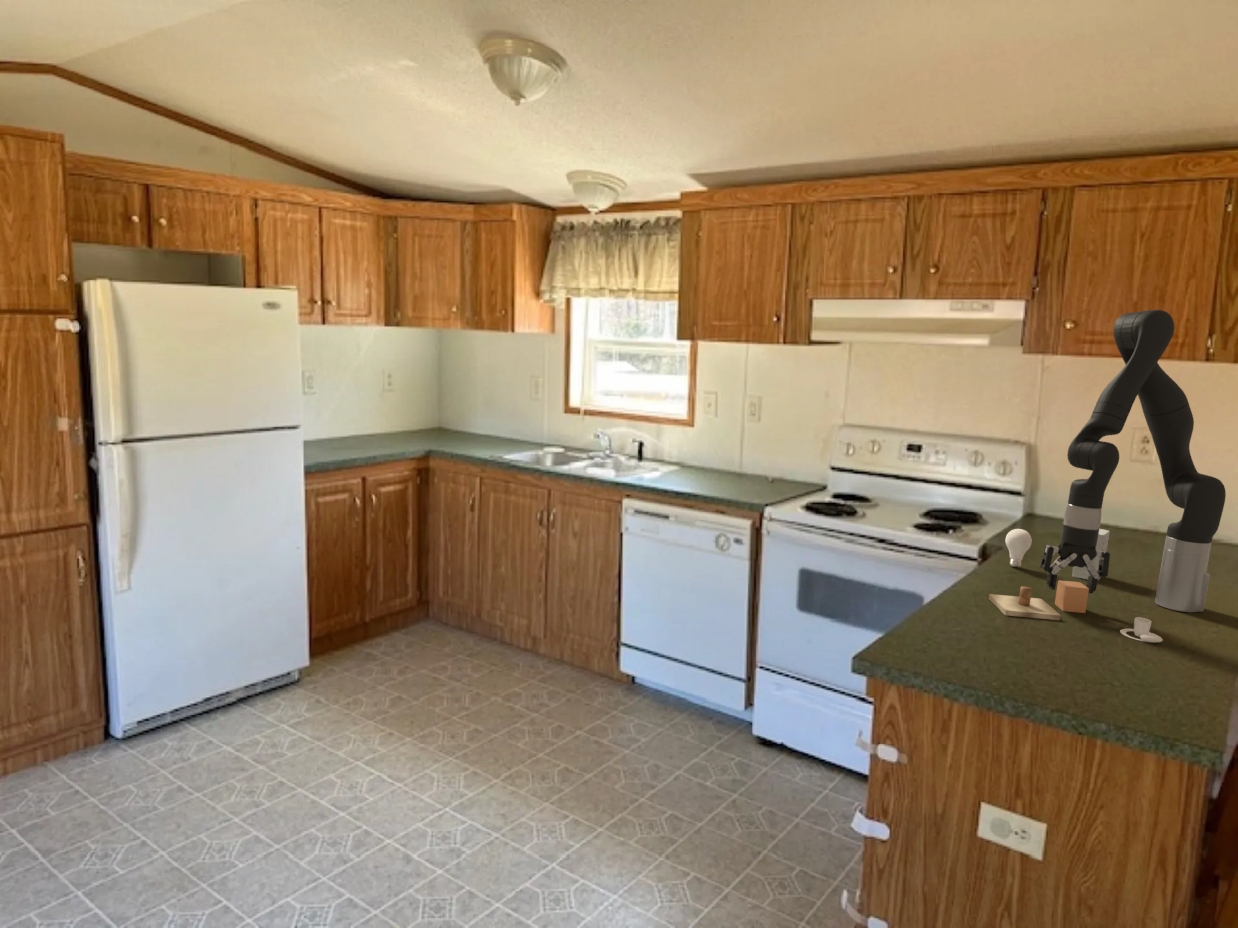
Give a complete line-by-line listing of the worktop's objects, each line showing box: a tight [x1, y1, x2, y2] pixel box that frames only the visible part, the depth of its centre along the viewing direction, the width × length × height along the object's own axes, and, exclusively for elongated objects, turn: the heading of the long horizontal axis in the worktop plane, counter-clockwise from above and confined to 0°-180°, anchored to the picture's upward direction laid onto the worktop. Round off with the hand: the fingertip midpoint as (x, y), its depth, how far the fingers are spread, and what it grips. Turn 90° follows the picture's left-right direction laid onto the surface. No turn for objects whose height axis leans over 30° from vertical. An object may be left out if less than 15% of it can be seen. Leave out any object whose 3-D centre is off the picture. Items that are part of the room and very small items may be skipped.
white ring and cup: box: [1119, 617, 1163, 644], centre depth 182 cm, size 9×8×4 cm
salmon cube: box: [1054, 579, 1090, 614], centre depth 199 cm, size 5×5×6 cm
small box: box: [1071, 528, 1111, 581], centre depth 228 cm, size 8×6×13 cm
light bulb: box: [1005, 528, 1033, 568], centre depth 233 cm, size 7×7×11 cm
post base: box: [988, 585, 1062, 621], centre depth 196 cm, size 12×12×5 cm
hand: (1070, 590), depth 199 cm, fingers open, 8 cm apart
